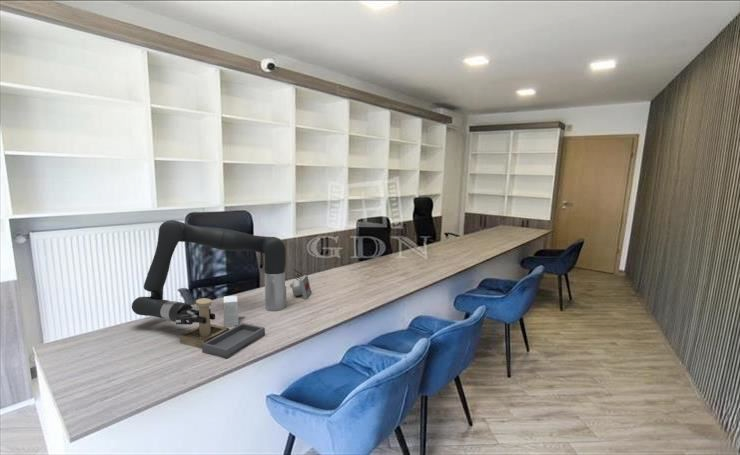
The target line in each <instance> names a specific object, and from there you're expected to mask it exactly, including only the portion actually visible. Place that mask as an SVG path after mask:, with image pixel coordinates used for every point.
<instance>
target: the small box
mask: <svg viewBox="0 0 740 455" xmlns="http://www.w3.org/2000/svg"><path fill="white" fill-rule="evenodd" d="M238 299H239V298H238V295H227V296H223V301H222V305H223V306H222V307H223V308H222V309H223V327H226V328H229V327H233V326H234V327H236V326H237V325H239V304H238V301H239V300H238Z"/></svg>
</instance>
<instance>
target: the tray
mask: <svg viewBox="0 0 740 455" xmlns="http://www.w3.org/2000/svg"><path fill="white" fill-rule="evenodd" d="M264 336H266V327H265V326H259V325H255V324H249V323H244V322H242V323H238V325H236V326H234V327H232V328H229V330H228V331H226V332H224V333H222V334H220V335H218V336H216V337H214V338H213V339H211V340H209V341H207V342H205V343H203V344H202V348H201V352H202V353H204V354H208V355H211V356H216V357H220V358H222V359H228V358H230V357H231V356H234V355H235V354H237V353H238V352H240V351H241V350H243V349H245V348H246V347H248V346H250V345H251V344H253V343H255V342H256V341H257V340H259V339H261V338H262V337H264Z"/></svg>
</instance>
